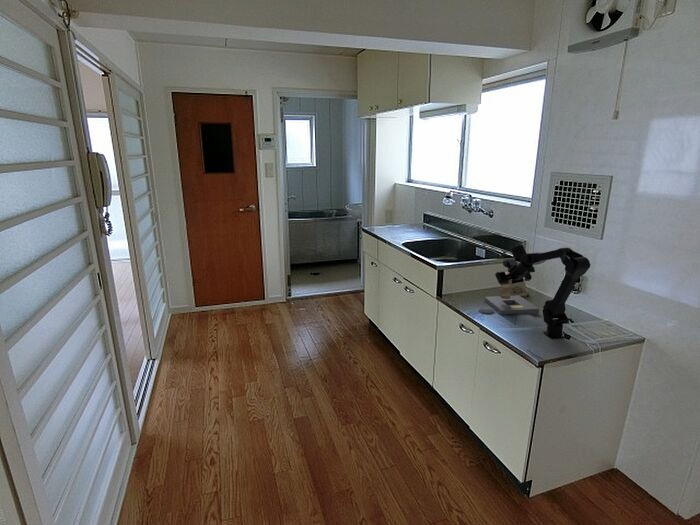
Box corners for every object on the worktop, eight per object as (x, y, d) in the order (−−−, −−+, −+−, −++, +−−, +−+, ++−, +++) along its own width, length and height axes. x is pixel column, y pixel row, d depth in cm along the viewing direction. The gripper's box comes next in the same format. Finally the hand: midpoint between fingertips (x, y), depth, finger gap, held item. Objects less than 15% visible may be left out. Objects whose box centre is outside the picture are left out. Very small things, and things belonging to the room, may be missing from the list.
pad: (497, 316, 200) (497, 314, 199) (482, 316, 199) (482, 315, 199) (490, 310, 207) (490, 308, 207) (475, 310, 207) (475, 309, 206)
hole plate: (538, 314, 202) (539, 308, 201) (501, 316, 200) (501, 310, 199) (518, 300, 221) (519, 295, 220) (484, 302, 219) (484, 296, 218)
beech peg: (510, 299, 204) (513, 275, 201) (500, 298, 206) (502, 274, 203) (509, 296, 209) (512, 272, 206) (499, 295, 211) (502, 272, 207)
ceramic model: (504, 296, 228) (506, 280, 225) (500, 290, 238) (501, 274, 236) (530, 297, 226) (532, 280, 223) (524, 291, 236) (526, 275, 234)
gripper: (530, 253, 200) (513, 269, 213) (499, 256, 195) (483, 272, 208) (539, 272, 195) (522, 287, 208) (508, 276, 190) (491, 290, 203)
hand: (504, 283), depth 207 cm, fingers closed on beech peg, 5 cm apart
